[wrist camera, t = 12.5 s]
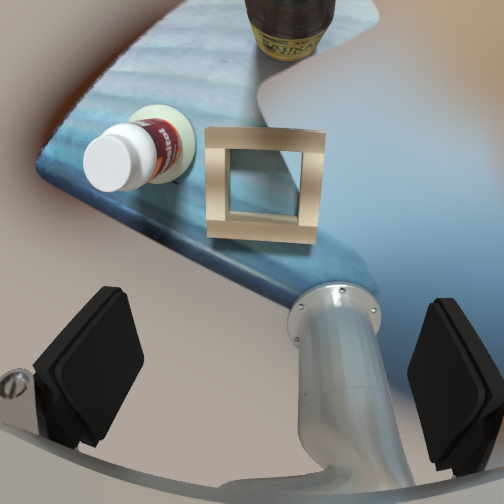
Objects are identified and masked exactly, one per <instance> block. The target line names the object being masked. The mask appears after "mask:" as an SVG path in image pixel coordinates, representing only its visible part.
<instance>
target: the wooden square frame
mask: <svg viewBox="0 0 504 504" xmlns="http://www.w3.org/2000/svg"><path fill="white" fill-rule="evenodd" d="M325 135H326V134H325V133H324V132H323V131H316V130H304V129H289V128H271V127H238V126H212V127H208V128H205V183H206V219H207V237H213V238H229V239H244V240H259V241H274V242H288V243H302V244H316V236H317V227H318V218H319V208H320V196H321V187H322V175H323V162H324V149H325ZM230 149H258V150H279V151H295V152H302V165H301V178H300V179H301V180H300V193H299V207H298V216H297V215H283V214H267V213H251V212H233V211H230Z"/></svg>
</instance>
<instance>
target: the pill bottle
mask: <svg viewBox="0 0 504 504" xmlns="http://www.w3.org/2000/svg"><path fill="white" fill-rule="evenodd" d="M181 151H182V140H181V136H180V134H179V132H178V130H177V128H176V127H175V126H174V125H173V124H172V123H170V122H169V121H167V120H164V119H160V118H151V119H145V120H138V121H132V122H127V123H121V124H117V125H114V126H112V127H110V128H109V129H107V130H106V131H105V132H104V133H103V134H102V135H101V136H100V137H99V138H96V139H95V140H93V141H92V142H91V143H90V144H89V146H88V147H87V149H86V151H85V154H84V160H83V166H84V171H85V174H86V177H87V178H88V180H89V181H90V183H91V184H92V185H93V186H94V187H95V188H97V189H99V190H101V191H104V192H114V191H117V190H119V191H131V190H135V189H137V188H139V187H141V186H142V185H144V184H146V183H148V182H149V181H151V180H152V179H154V178H156V177H157V176H159V175H161V174H163V173H164V172H166V171H168V170H169V169H170V168H172V167H173V166H174V165H175V164H176V163H177V161H178V160H179V158H180V155H181Z"/></svg>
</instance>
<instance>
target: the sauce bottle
mask: <svg viewBox="0 0 504 504" xmlns="http://www.w3.org/2000/svg"><path fill="white" fill-rule="evenodd" d="M335 1H336V0H245V4H246V7H247V15H248V18H249V21H250V24H251V27H252V30H253V33H254V36H255V39H256V42H257V44H258V45H259V47H260V48H261V50H262V51H263V52H265V53H266V54H267V55H268V56H270V57H271V58H274V59H277V60H282V61H296V60H299V59H302V58H304V57H306V56H308V55H309V54H310V53H311V52H312V51H313V50H314V49H315V47H316V46H317V44H318V43H319V41H320V39H321V38H322V36H323V35H324V33H325V32H326V30H327V29H328V27H329V25H330V24H331V22H332V20H333V16H334V10H335Z"/></svg>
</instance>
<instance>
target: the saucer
mask: <svg viewBox="0 0 504 504" xmlns="http://www.w3.org/2000/svg"><path fill="white" fill-rule="evenodd" d="M151 118H160V119H164V120H167V121H169V122H170V123H172V124H173V125H174V126H175V127H176V128H177V130H178V132H179V134H180V136H181V140H182V151H181V155H180V158H179V160H178V161H177V163H176V164H175V165H174V166H173V167H172V168H170V169H169V170H168V171H166V172H164V173H163V174H161V175H159V176H157V177H156V178H154V179H152V180H151V181H149V182H148V183H152V184H162V183H167V182H170V181H172V180H174V179H176V178H177V177H179V176H180V175H182V174H183V173H184V172H185V171H186V170H187V169H188V168H189V166H190V165H191V163H192V161H193V159H194V156H195V153H196V148H197V139H196V133H195V130H194V127H193V125H192V123H191V122H190V120H189V119H188V118H187V116H186V115H185V114H184V113H182V112H181V111H180V110H178V109H176V108H174V107H172V106H168V105H151V106H147V107H144V108H142V109H140V110H138V111H137V112H135V113H134V114H133V115H132V116H131V117H130V118H129V119H128V121H127V122H132V121H138V120H145V119H151ZM127 122H126V123H127Z"/></svg>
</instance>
